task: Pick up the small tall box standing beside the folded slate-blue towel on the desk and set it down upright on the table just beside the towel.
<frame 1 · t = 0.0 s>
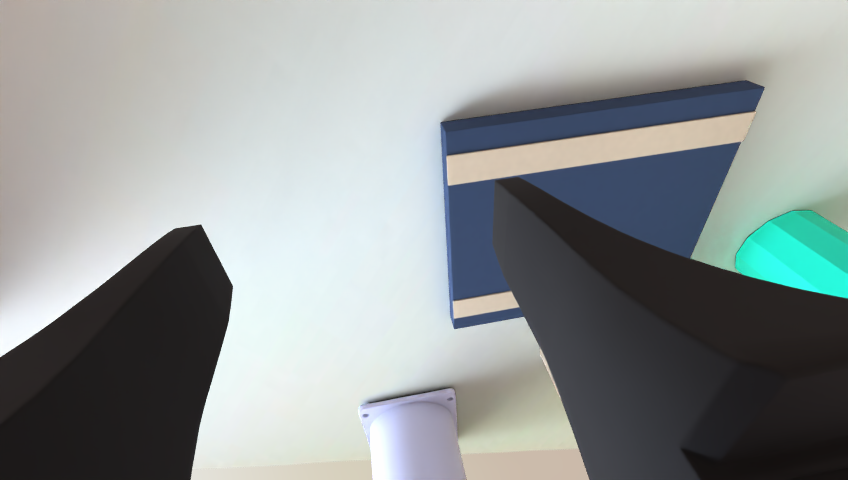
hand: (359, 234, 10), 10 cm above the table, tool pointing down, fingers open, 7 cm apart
towel: (576, 215, 24), on the table
candle: (773, 242, 29), on the table
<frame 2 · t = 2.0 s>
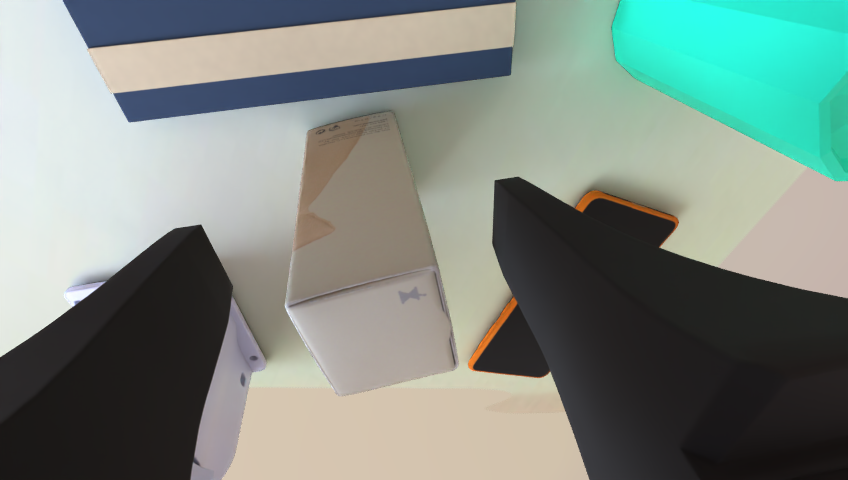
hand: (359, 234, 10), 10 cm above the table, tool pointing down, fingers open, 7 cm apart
smartphone: (557, 294, 29), on the table
box: (364, 165, 21), on the table
candle: (672, 12, 18), on the table
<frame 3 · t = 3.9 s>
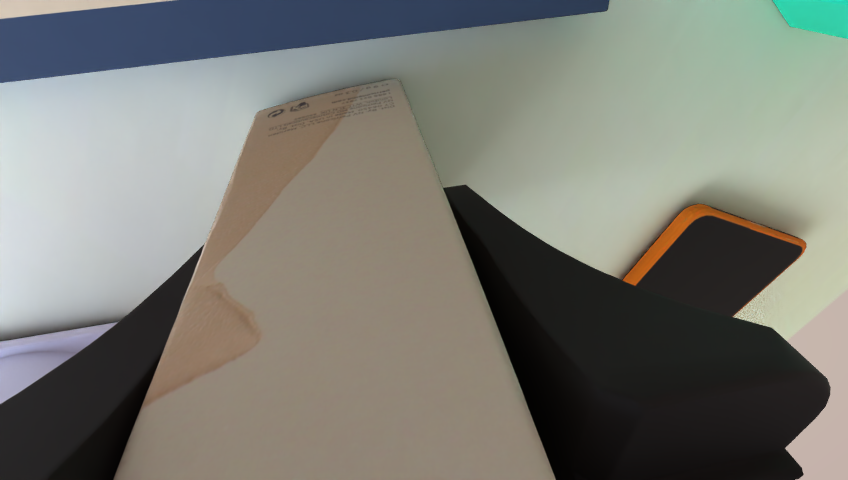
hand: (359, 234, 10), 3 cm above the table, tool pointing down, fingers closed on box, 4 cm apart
smartphone: (621, 341, 21), on the table
box: (354, 169, 13), on the table, touching gripper
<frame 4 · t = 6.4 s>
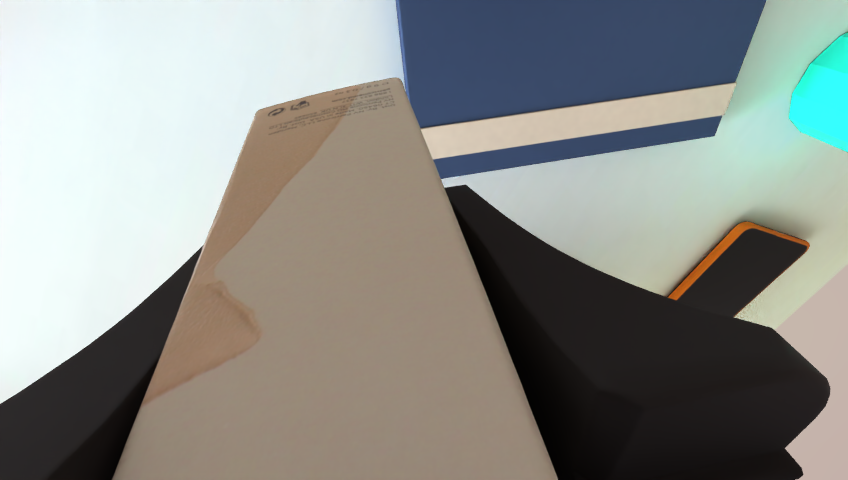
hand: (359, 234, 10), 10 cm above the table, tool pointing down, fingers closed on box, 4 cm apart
smartphone: (688, 308, 33), on the table
box: (354, 168, 13), point 7 cm above the table, touching gripper
candle: (841, 79, 22), on the table
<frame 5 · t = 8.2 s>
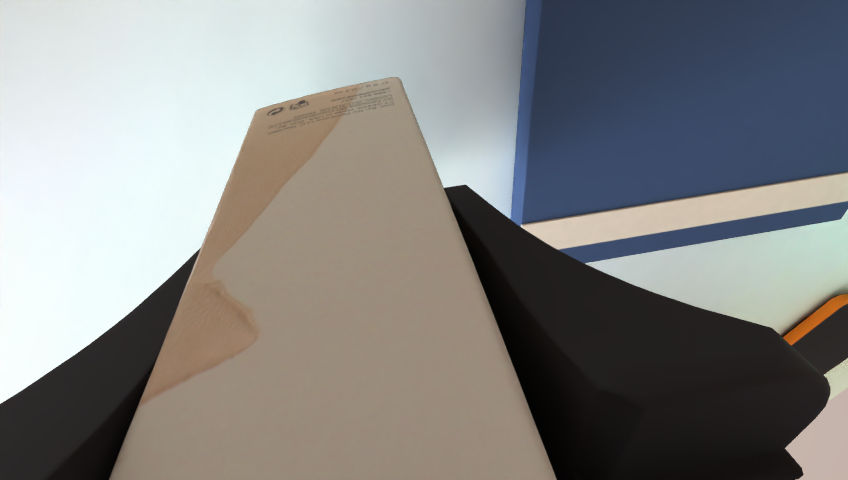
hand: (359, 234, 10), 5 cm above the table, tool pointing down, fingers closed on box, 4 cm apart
smartphone: (764, 373, 31), on the table
box: (353, 167, 13), point 2 cm above the table, touching gripper
towel: (723, 83, 15), on the table
when the fingers open (3 cm above the table, at t = 9.3 s): box stays where it is, on the table.
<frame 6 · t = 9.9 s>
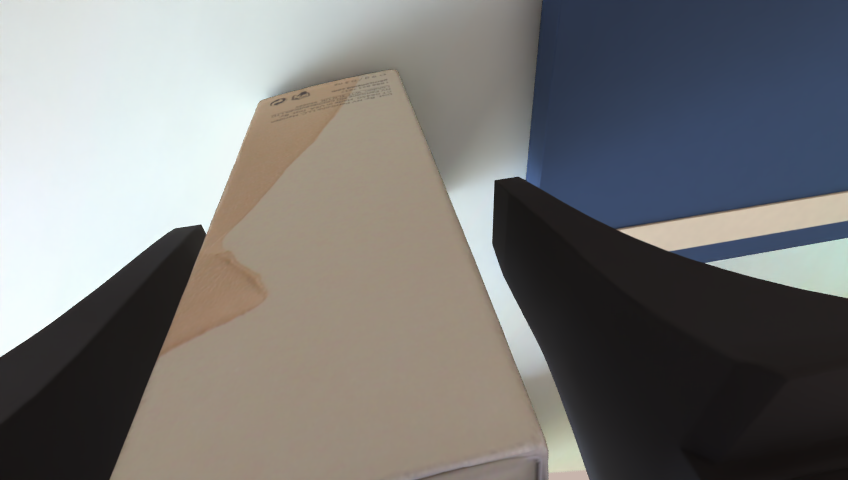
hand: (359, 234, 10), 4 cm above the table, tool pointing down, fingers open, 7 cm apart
box: (353, 158, 13), on the table
towel: (749, 93, 14), on the table
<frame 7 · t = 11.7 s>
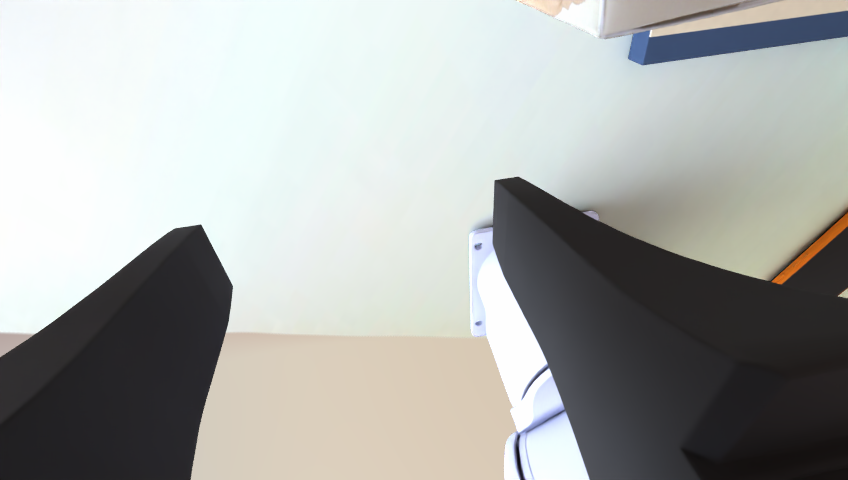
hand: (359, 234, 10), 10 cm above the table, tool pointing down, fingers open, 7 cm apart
smartphone: (840, 246, 31), on the table
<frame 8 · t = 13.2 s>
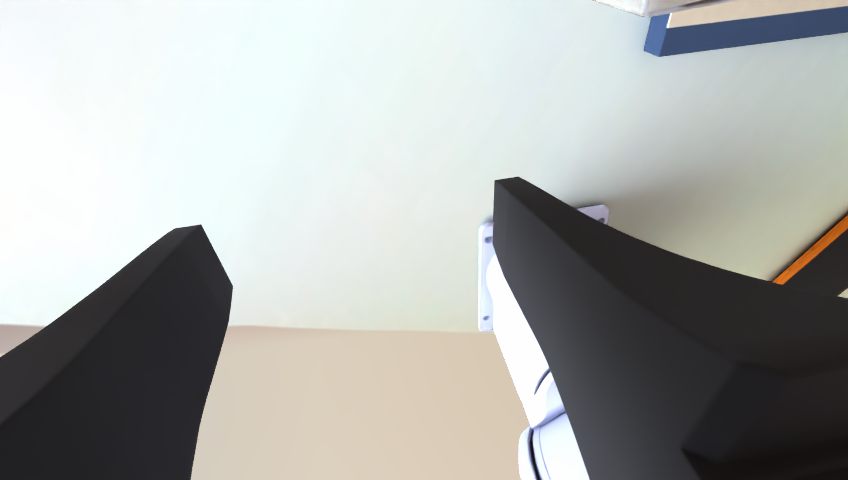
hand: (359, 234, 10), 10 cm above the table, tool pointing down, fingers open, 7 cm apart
smartphone: (845, 243, 31), on the table
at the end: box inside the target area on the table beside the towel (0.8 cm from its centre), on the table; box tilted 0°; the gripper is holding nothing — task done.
